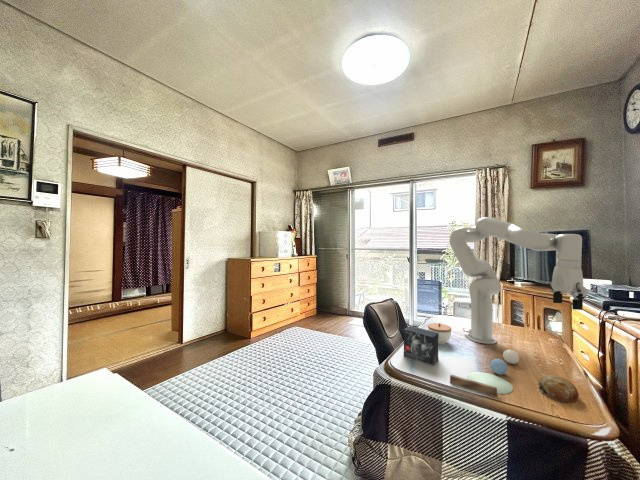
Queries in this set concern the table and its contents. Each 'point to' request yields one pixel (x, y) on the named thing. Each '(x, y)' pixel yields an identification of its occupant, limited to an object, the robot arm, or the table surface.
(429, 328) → the lidded jar
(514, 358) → the cue ball
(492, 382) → the mint mark
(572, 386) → the bread roll
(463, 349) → the table surface
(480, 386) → the walnut rail
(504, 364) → the blue ball
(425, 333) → the small box
